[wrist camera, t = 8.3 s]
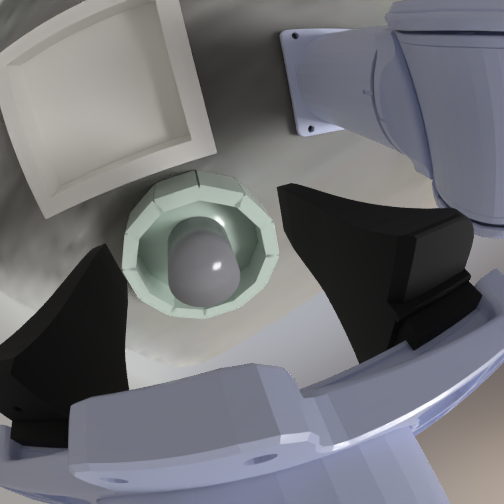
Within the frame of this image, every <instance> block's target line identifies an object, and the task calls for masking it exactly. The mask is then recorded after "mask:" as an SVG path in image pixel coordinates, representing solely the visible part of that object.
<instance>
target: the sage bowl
mask: <svg viewBox="0 0 504 504" xmlns="http://www.w3.org/2000/svg"><path fill="white" fill-rule="evenodd" d="M196 216H203V217H209V218H212V219H214V220H216V221H217V222H219V223H220V224H221V225H222V226H223V227H224V229H225V231H226V233H227V236H228V239H229V241H230V244H231V247H232V250H233V253H234V255H235V258H236V261H237V264H238V266H239V269H240V283H239V285H238V287H237V289H236V291H235V292H234V293H233V294H232V295H231V296H230V297H229V298H228V299H226V300H225V301H223V302H221V303H219V304H216V305H213V306H208V307H194V306H190V305H187V304H184V303H182V302H181V301H179V300H178V299H177V298H175V296H174V295H173V294H172V293H171V291H170V288H169V284H168V237H169V235H170V233H171V231H172V229H173V228H174V227H175V226H176V225H177V224H178V223H180V222H181V221H183V220H185V219H187V218H190V217H196ZM278 258H279V248H278V243H277V237H276V231H275V225H274V221H273V220H272V218H271V217H270V215H269V214H268V212H267V211H266V209H265V208H264V206H263V205H262V203H261V202H260V201H259V200H258V199H257V198H256V197H255V196H254V195H253V194H252V193H251V192H250V191H249V190H247V189H246V188H245V187H244V186H243V185H242V184H241V183H240V182H239V181H238V180H237V179H235V178H233V177H229V176H224V175H219V174H214V173H209V172H204V171H199V170H196V172H195V170H193V171H190V172H187V173H184V174H181V175H178V176H175V177H172V178H169V179H166V180H163V181H160V182H157V183H156V185H155V184H154V185H153V186H152V187H151V189H150V190H149V191H148V192H147V193H146V194H145V196H144V197H143V198H142V199H141V200H140V201H139V203H138V204H137V205H136V206H135V207H134V209H133V210H132V211H131V213H130V215H129V219H128V223H127V227H126V231H125V236H124V246H123V259H122V271H123V273H124V275H125V277H126V278H127V280H128V282H129V283H130V285H131V287H132V288H133V290H134V292H135V293H136V295H137V296H138V298H139V299H140V300H141V301H143V302H145V303H147V304H148V305H150V306H152V307H154V308H156V309H157V310H159V311H161V312H163V313H165V314H167V315H171V316H175V317H187V318H201V319H204V318H209V317H213V316H216V315H219V314H222V313H226V312H229V311H232V310H235V309H238V307H241V306H243V305H244V304H245V303H246V302H247V301H249V300H250V299H251V298H252V297H253V296H255V295H256V294H257V293H258V292H259V291H261V290H262V289H263V288H264V287H265V285H267V283H268V281H269V278H270V276H271V274H272V271H273V269H274V267H275V264H276V262H277V260H278Z"/></svg>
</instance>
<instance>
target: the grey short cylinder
mask: <svg viewBox="0 0 504 504" xmlns="http://www.w3.org/2000/svg"><path fill="white" fill-rule="evenodd" d="M239 283H240V269H239V266H238V264H237V261H236V258H235V255H234V253H233V250H232V247H231V244H230V241H229V239H228V236H227V233H226V231H225V229H224V227H223V226H222V225H221V224H220V223H219V222H217V221H216V220H214V219H212V218H209V217H203V216H196V217H190V218H187V219H185V220H183V221H181V222H180V223H178V224H177V225H176V226H175V227H174V228H173V229H172V231H171V233H170V235H169V237H168V284H169V288H170V291H171V293H172V294H173V295H174V296H175V298H177V299H178V300H179V301H181V302H182V303H184V304H187V305H190V306H194V307H208V306H213V305H216V304H219V303H221V302H223V301H225V300H226V299H228V298H229V297H230V296H231V295H232V294H233V293H234V292H235V291H236V289H237V287H238V285H239Z"/></svg>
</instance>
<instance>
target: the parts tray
mask: <svg viewBox="0 0 504 504" xmlns="http://www.w3.org/2000/svg"><path fill="white" fill-rule="evenodd" d="M0 108H1V111H2V114H3V118H4V121H5V124H6V127H7V130H8V133H9V136H10V139H11V142H12V145H13V148H14V150H15V153H16V156H17V158H18V161H19V163H20V166H21V168H22V170H23V173H24V175H25V177H26V180H27V182H28V184H29V187H30V189H31V191H32V193H33V195H34V197H35V199H36V201H37V203H38V206H39V208H40V210H41V211H42V213H43V215H44V217H45V219H48V218H50V217H52V216H54V215H56V214H58V213H60V212H62V211H64V210H66V209H69V208H71V207H73V206H75V205H77V204H79V203H82V202H84V201H86V200H88V199H91V198H93V197H95V196H98V195H100V194H102V193H105V192H107V191H110V190H112V189H115V188H117V187H120V186H122V185H125V184H127V183H130V182H132V181H135V180H138V179H140V178H143V177H146V176H148V175H151V174H154V173H157V172H160V171H163V170H165V169H168V168H171V167H174V166H177V165H180V164H183V163H187V162H190V161H193V160H196V159H199V158H203V157H206V156H209V155H213V154H216V153H217V150H216V146H215V143H214V139H213V135H212V131H211V127H210V123H209V119H208V115H207V111H206V108H205V104H204V100H203V96H202V92H201V88H200V84H199V80H198V76H197V72H196V68H195V64H194V60H193V56H192V52H191V48H190V44H189V40H188V36H187V32H186V28H185V24H184V20H183V16H182V12H181V7H180V3H179V0H86V1H84V2H82V3H80V4H78V5H76V6H74V7H72V8H70V9H68V10H66V11H64V12H62V13H60V14H58V15H56V16H55V17H53V18H51V19H49V20H48V21H46V22H44V23H43V24H41V25H39V26H38V27H36V28H35V29H33V30H31V31H30V32H28V33H27V34H25V35H24V36H22V37H21V38H20V39H18V40H17V41H15V42H14V43H13V44H11V45H10V46H8V47H7V48H6V49H4V50H3V51H2V52H1V53H0Z"/></svg>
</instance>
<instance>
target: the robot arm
mask: <svg viewBox="0 0 504 504" xmlns="http://www.w3.org/2000/svg"><path fill="white" fill-rule="evenodd" d="M385 19H386V21H387V23H388V25H387V26H376V27H367V28H360V29H335V28H316V29H291V30H284V31H282V32H281V33H280V42H281V47H282V52H283V57H284V62H285V67H286V72H287V77H288V83H289V88H290V94H291V100H292V106H293V112H294V118H295V125H296V131H297V133H298V134H299V135H300V136H302V137H306V136H311V135H316V134H322V133H327V132H333V131H339V130H345V129H347V130H349V131H352V132H355V133H357V134H360V135H362V136H364V137H367V138H369V139H372V140H374V141H376V142H379V143H381V144H383V145H385V146H387V147H390V148H392V149H394V150H396V151H398V152H400V153H402V154H405V155H406V156H408V157H409V158H410V159H411V160H412V162H413V164H414V167H415V170H416V171H417V172H419V173H421V174H423V175H424V176H426V177H428V178H430V179H433V182H432V187H433V195H434V198H435V201H436V204H437V206H438V207H439V208H433V209H421V208H400V207H391V206H382V205H375V204H369V203H364V202H359V201H354V200H350V199H346V198H342V197H338V196H335V195H331V194H328V193H325V192H321V191H318V190H315V189H312V188H309V187H305V186H302V185H298V184H293V183H290V184H287V185H283V186H279V187H277V191H278V197H279V203H280V209H281V215H282V222H283V228H284V231H285V233H286V235H287V237H288V239H289V241H290V243H291V245H292V246H293V248H294V250H295V251H296V252H297V254H298V255H299V257H300V258H301V259H302V261H303V262H304V263H305V265H306V266H307V268H308V269H309V270H310V272H311V273H312V274H313V276H314V277H315V279H316V280H317V281H318V283H319V284H320V286H321V287H322V289H323V290H324V292H325V293H326V295H327V297H328V299H329V301H330V303H331V304H332V306H333V308H334V310H335V312H336V314H337V316H338V318H339V320H340V322H341V324H342V326H343V328H344V330H345V332H346V334H347V336H348V339H349V341H350V343H351V345H352V347H353V350H354V352H355V354H356V357H357V359H358V362H359V365H357V366H354V367H352V368H350V369H348V370H346V371H343V372H341V373H339V374H337V375H334V376H332V377H330V378H327V379H325V380H322V381H320V382H318V383H315V384H313V385H310V386H307V387H305V388H302V389H300V390H299V388H298V385H297V383H296V381H295V379H294V378H293V377H292V376H291V375H290V374H289V373H288V372H287V371H286V370H285V369H284V368H281V367H277V366H268V365H261V364H254V363H250V364H244V365H238V366H232V367H226V368H219V369H216V370H213V371H209V372H205V373H201V374H198V375H194V376H190V377H187V378H182V379H179V380H174V381H170V382H166V383H162V384H157V385H153V386H148V387H143V388H139V389H135V390H129V386H128V379H127V371H126V362H125V336H126V321H127V307H128V291H127V280H126V279H125V277H124V275H123V274H122V272H121V270H120V268H119V267H118V265H117V263H116V261H115V260H114V258H113V256H112V254H111V252H110V251H109V249H108V247H107V245H106V244H103V245H100V246H98V247H95V248H93V249H92V250H91V251H90V252H89V253H88V254H87V255H86V256H85V257H84V258H83V259H82V260H81V261H80V262H79V264H78V265H77V266H76V267H75V268H74V270H73V271H72V272H71V273H70V274H69V276H68V277H67V278H66V279H65V280H64V282H63V283H62V284H61V285H60V286H59V288H58V289H57V290H56V291H55V292H54V294H53V295H52V296H51V297H50V298H49V299H48V301H47V302H46V303H45V304H44V305H43V306H42V307H41V308H40V309H39V310H38V311H37V312H36V313H35V314H34V316H32V317H31V318H30V319H29V320H28V321H27V322H26V323H25V324H24V325H23V326H22V327H21V328H20V329H19V330H18V331H16V332H15V333H14V334H13V335H12V336H11V337H9V338H8V339H7V340H6V341H5V342H3V343H2V344H1V345H0V413H2V414H3V415H4V416H6V417H7V418H9V419H10V420H12V427H9V426H5V425H0V486H1V487H3V488H5V489H8V490H10V491H12V492H15V493H18V494H20V495H23V496H26V497H28V498H31V499H34V500H38V501H42V502H46V503H50V504H450V502H449V500H448V498H447V496H446V494H445V492H444V490H443V488H442V486H441V484H440V482H439V481H438V479H437V477H436V475H435V473H434V471H433V469H432V467H431V466H430V464H429V462H428V460H427V458H426V456H425V454H424V453H423V451H422V449H421V447H420V445H419V444H418V442H417V440H416V438H415V437H414V436H416V435H417V434H419V433H420V432H422V431H423V430H424V429H426V428H427V427H429V426H430V425H432V424H433V423H434V422H436V421H437V420H438V419H440V418H441V417H442V416H443V415H445V414H446V413H447V412H449V411H450V410H451V409H453V408H454V407H455V406H456V405H458V404H459V403H460V402H461V401H462V400H464V399H465V398H466V397H467V396H468V395H469V394H470V393H472V392H473V391H474V390H475V389H476V388H477V387H478V386H479V385H481V384H482V383H483V382H484V381H485V380H486V379H487V378H488V377H489V376H490V375H491V374H492V373H493V372H494V371H495V370H496V369H497V368H498V367H499V366H500V365H501V364H502V363H503V362H504V275H503V274H502V273H501V272H500V271H499V270H498V269H494V270H492V271H491V272H490V273H488V274H487V275H485V276H484V277H483V278H481V279H480V280H479V281H478V282H477V284H476V285H475V286H473V285H472V284H471V283H470V282H469V280H470V278H471V275H470V274H469V272H468V271H466V270H465V266H466V263H467V260H468V257H469V254H470V250H471V247H472V243H473V238H474V234H475V235H478V236H482V237H487V238H494V239H495V238H496V239H504V0H403V1H398V2H394V3H393V4H392V6H391V8H390V12H389V13H387V14H386V15H385ZM292 33H295V34H296V36H297V38H296V39H294V38H292ZM309 126H312V130H311V131H308V127H309Z"/></svg>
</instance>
